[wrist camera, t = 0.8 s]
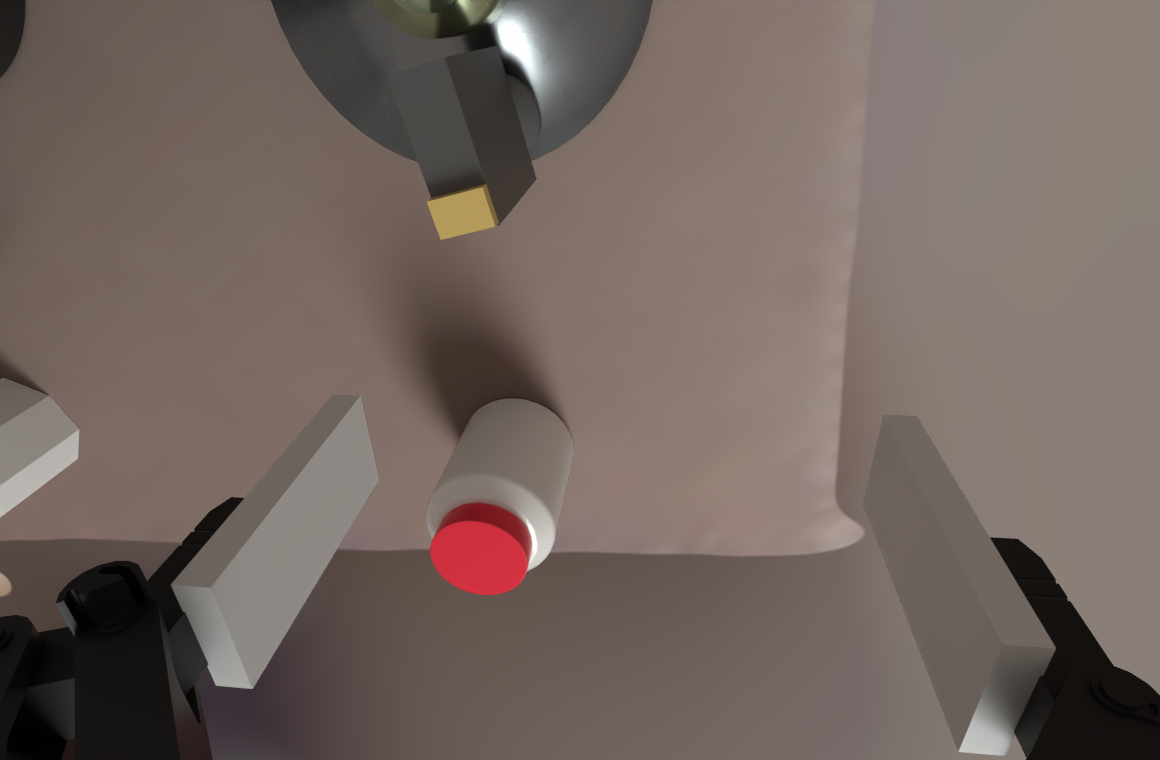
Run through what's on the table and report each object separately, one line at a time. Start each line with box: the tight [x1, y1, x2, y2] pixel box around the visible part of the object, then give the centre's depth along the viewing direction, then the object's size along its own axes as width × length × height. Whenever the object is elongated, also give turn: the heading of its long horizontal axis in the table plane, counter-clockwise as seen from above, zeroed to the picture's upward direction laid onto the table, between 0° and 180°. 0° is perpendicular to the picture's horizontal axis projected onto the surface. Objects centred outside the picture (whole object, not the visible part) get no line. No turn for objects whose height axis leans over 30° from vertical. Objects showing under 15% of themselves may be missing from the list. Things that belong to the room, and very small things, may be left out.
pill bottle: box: [426, 398, 574, 595], centre depth 42 cm, size 8×8×11 cm
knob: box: [386, 46, 541, 240], centre depth 30 cm, size 6×4×10 cm
